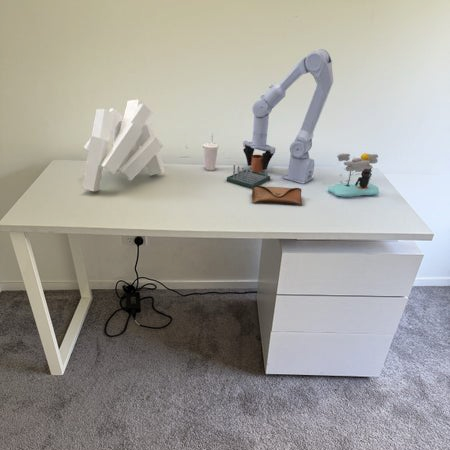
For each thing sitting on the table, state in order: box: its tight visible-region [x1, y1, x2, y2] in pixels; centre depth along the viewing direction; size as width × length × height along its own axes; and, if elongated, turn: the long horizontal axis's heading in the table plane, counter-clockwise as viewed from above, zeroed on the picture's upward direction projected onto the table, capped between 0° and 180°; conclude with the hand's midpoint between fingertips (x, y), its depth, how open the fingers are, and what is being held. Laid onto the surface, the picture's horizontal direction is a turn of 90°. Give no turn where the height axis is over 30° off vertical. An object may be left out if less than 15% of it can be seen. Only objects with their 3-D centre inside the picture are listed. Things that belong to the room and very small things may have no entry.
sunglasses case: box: [251, 185, 303, 206], centre depth 137 cm, size 18×7×7 cm
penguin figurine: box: [327, 152, 380, 198], centre depth 141 cm, size 20×11×15 cm, turn 101°
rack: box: [226, 164, 271, 190], centre depth 150 cm, size 12×13×6 cm
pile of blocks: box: [81, 98, 166, 192], centre depth 143 cm, size 35×30×35 cm
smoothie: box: [202, 133, 219, 171], centre depth 158 cm, size 6×6×14 cm
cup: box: [250, 154, 264, 174], centre depth 160 cm, size 5×5×6 cm
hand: (257, 167), depth 161 cm, fingers open, 7 cm apart
